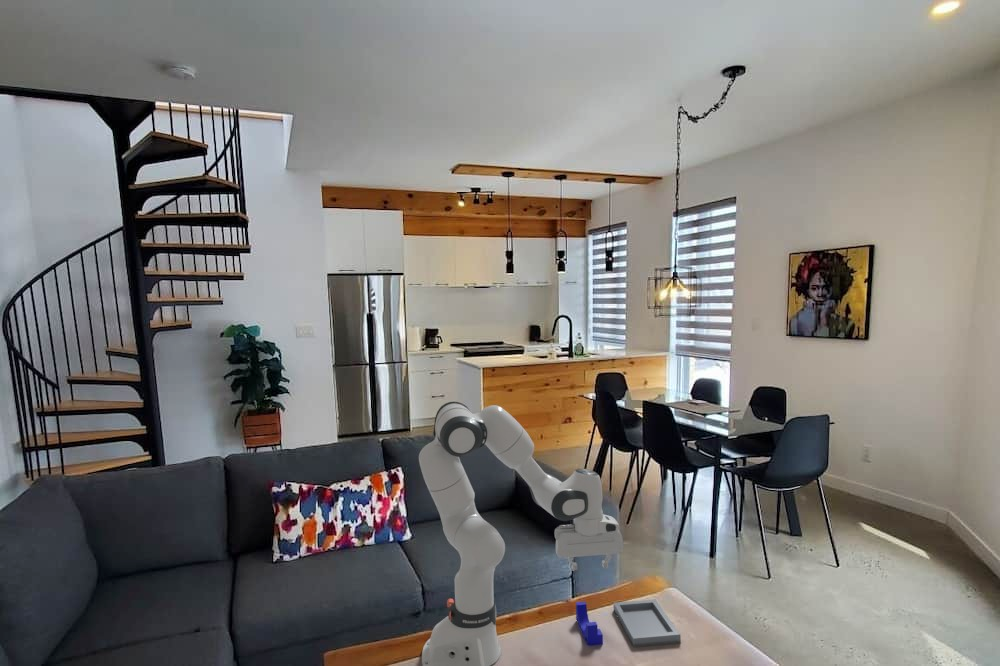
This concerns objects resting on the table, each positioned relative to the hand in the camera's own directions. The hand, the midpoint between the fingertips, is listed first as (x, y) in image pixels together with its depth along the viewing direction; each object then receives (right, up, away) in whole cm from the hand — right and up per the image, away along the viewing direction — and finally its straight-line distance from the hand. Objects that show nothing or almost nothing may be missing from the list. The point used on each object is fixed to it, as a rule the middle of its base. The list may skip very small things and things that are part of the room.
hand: (589, 568), depth 147 cm
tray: (+17, -19, +2) cm, 26 cm away
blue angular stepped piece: (0, -20, 0) cm, 20 cm away
